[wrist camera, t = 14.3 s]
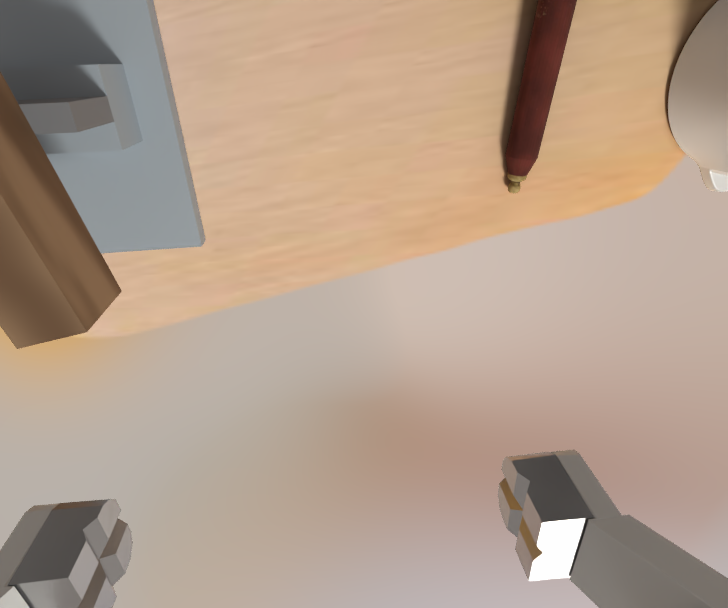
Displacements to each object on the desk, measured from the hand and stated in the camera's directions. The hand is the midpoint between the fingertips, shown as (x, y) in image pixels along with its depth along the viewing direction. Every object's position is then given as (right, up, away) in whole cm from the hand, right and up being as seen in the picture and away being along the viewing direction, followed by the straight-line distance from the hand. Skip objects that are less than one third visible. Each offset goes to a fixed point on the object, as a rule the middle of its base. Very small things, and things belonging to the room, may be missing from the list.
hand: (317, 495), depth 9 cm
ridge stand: (-20, +19, +23) cm, 36 cm away
